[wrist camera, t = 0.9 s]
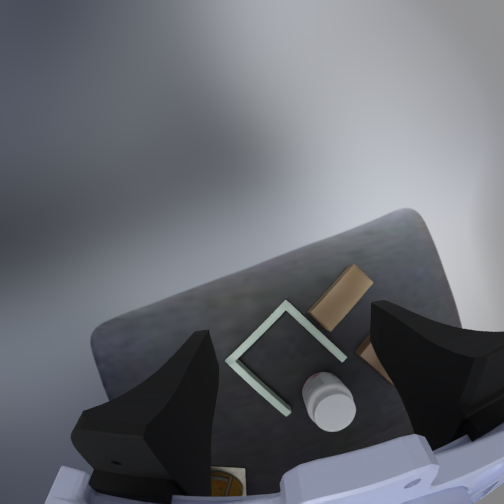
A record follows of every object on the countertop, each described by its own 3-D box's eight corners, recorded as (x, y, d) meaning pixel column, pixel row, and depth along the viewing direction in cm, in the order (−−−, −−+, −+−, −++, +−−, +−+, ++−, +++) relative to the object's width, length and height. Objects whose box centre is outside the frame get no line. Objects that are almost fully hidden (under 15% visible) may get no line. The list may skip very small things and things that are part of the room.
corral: (343, 354, 32) (347, 357, 30) (285, 411, 31) (286, 416, 29) (285, 300, 34) (285, 299, 32) (227, 358, 33) (224, 360, 31)
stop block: (364, 285, 33) (373, 282, 30) (325, 329, 33) (330, 331, 29) (346, 268, 34) (354, 263, 30) (306, 312, 33) (310, 312, 30)
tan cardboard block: (419, 346, 31) (430, 349, 28) (390, 383, 31) (399, 389, 28) (384, 313, 33) (393, 313, 30) (353, 351, 32) (360, 355, 29)
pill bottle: (302, 410, 31) (309, 438, 23) (300, 373, 32) (308, 393, 24) (341, 405, 31) (359, 430, 22) (340, 368, 32) (359, 386, 23)
